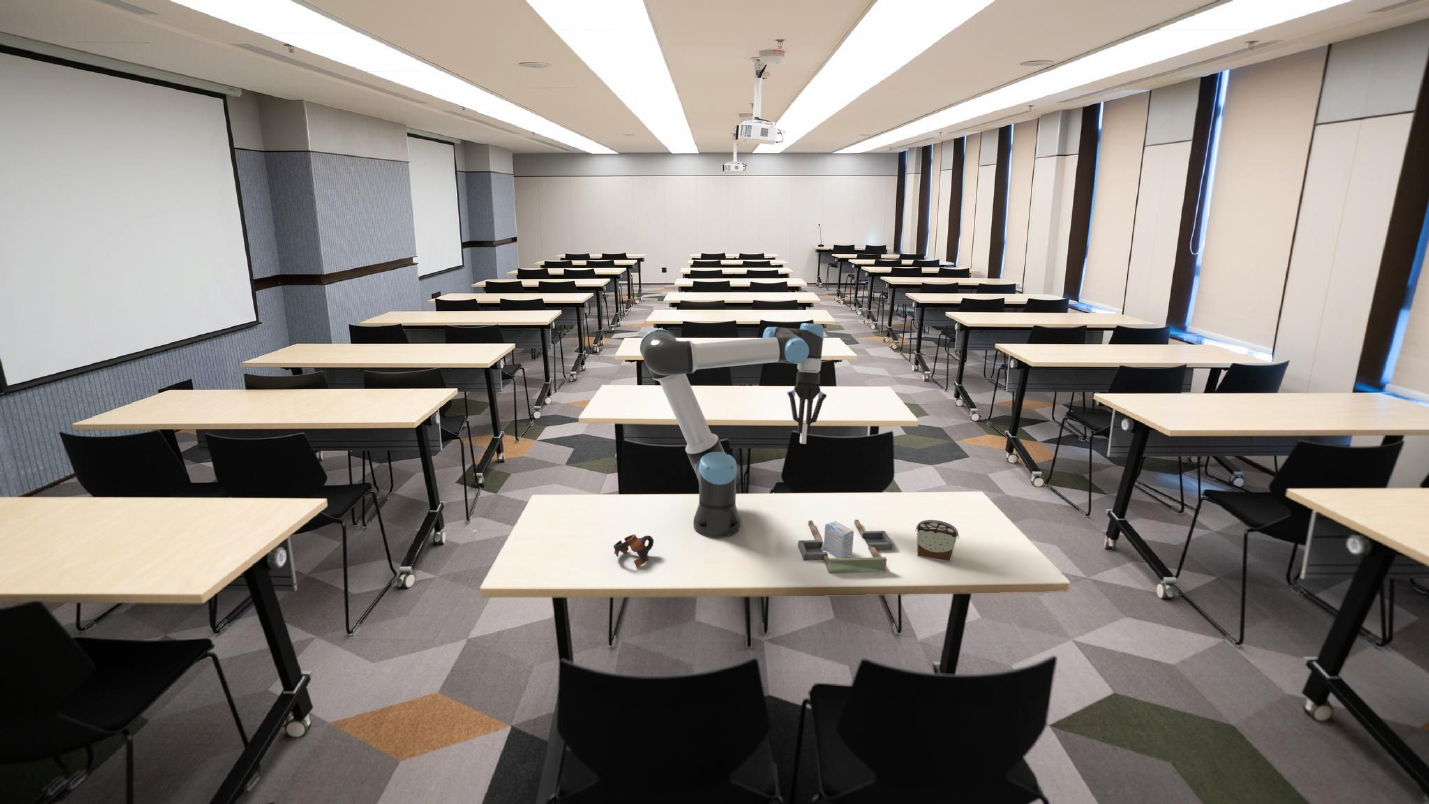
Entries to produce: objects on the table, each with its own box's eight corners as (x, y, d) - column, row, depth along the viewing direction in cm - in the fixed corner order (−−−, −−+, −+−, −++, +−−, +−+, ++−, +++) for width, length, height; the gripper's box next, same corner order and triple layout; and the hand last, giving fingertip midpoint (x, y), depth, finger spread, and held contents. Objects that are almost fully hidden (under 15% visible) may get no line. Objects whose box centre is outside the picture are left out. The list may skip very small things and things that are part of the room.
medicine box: (852, 556, 202) (854, 530, 199) (841, 561, 199) (843, 534, 197) (833, 545, 208) (835, 520, 205) (822, 549, 205) (824, 523, 203)
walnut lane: (808, 524, 221) (808, 513, 219) (857, 523, 222) (858, 512, 220) (828, 573, 193) (829, 560, 192) (885, 571, 194) (886, 559, 193)
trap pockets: (794, 538, 212) (795, 532, 211) (884, 536, 214) (884, 530, 213) (803, 560, 199) (803, 554, 198) (897, 558, 201) (898, 552, 200)
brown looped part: (629, 573, 192) (616, 547, 191) (618, 572, 200) (606, 547, 200) (664, 551, 198) (651, 526, 197) (651, 551, 206) (639, 527, 205)
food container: (955, 552, 205) (959, 523, 202) (955, 562, 199) (959, 532, 196) (913, 545, 209) (916, 516, 206) (912, 555, 203) (915, 525, 200)
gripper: (825, 372, 225) (819, 442, 227) (786, 369, 224) (781, 440, 226) (831, 373, 217) (824, 446, 220) (791, 370, 216) (785, 443, 219)
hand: (802, 442), depth 223 cm, fingers closed
